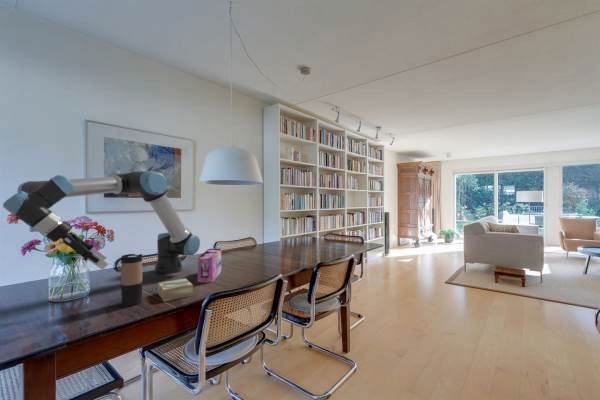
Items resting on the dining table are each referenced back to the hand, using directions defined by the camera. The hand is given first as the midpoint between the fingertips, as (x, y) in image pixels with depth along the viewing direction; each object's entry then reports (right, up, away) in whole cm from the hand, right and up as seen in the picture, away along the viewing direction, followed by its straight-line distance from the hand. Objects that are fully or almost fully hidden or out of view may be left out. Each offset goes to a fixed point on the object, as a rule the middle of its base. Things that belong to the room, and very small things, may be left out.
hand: (104, 263), depth 111 cm
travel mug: (+7, -18, +6) cm, 21 cm away
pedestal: (+21, -18, +16) cm, 32 cm away
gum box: (+27, -18, +46) cm, 56 cm away
